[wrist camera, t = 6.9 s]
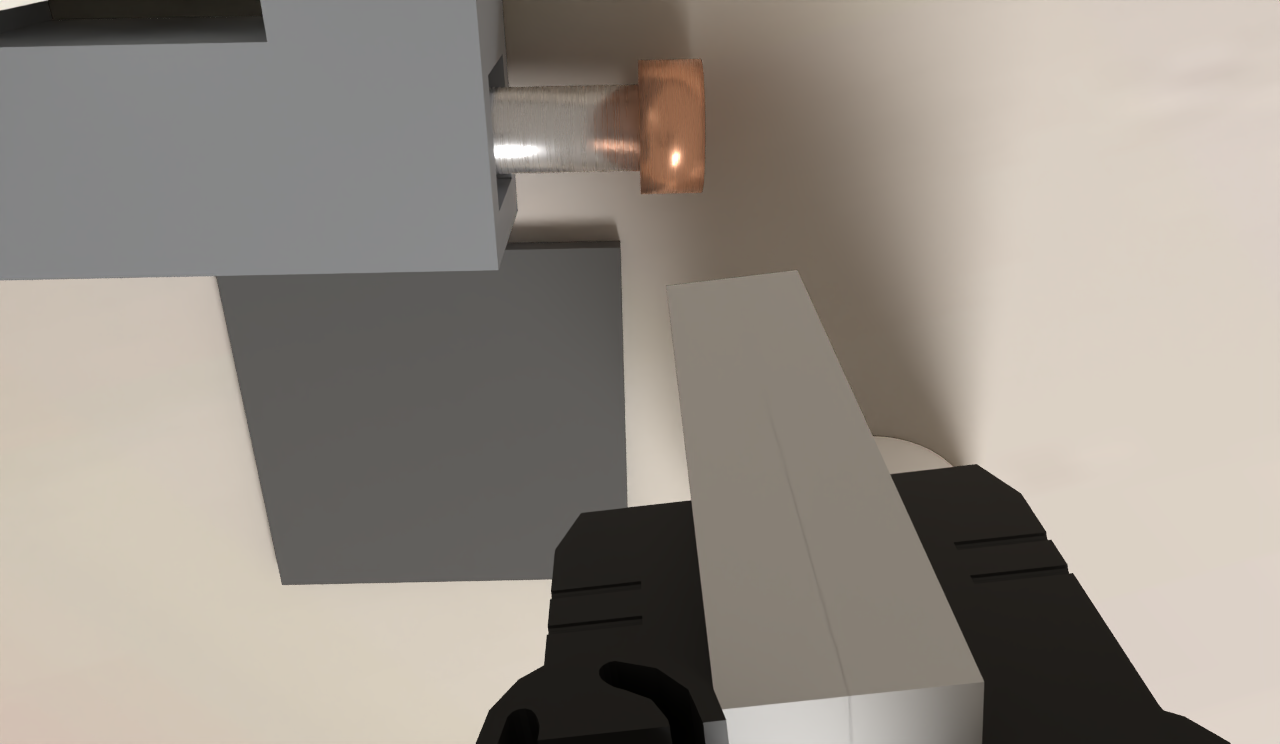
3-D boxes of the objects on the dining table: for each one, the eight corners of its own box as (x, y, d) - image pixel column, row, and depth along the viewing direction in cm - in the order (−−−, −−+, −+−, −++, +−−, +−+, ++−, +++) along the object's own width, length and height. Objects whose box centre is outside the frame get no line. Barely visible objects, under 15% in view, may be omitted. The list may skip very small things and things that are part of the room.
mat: (287, 574, 36) (282, 585, 35) (219, 249, 31) (212, 256, 30) (629, 566, 36) (629, 577, 35) (619, 241, 31) (619, 247, 30)
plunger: (329, 180, 29) (294, 217, 26) (310, 57, 27) (271, 80, 24) (696, 173, 29) (704, 209, 26) (697, 49, 27) (705, 71, 24)
